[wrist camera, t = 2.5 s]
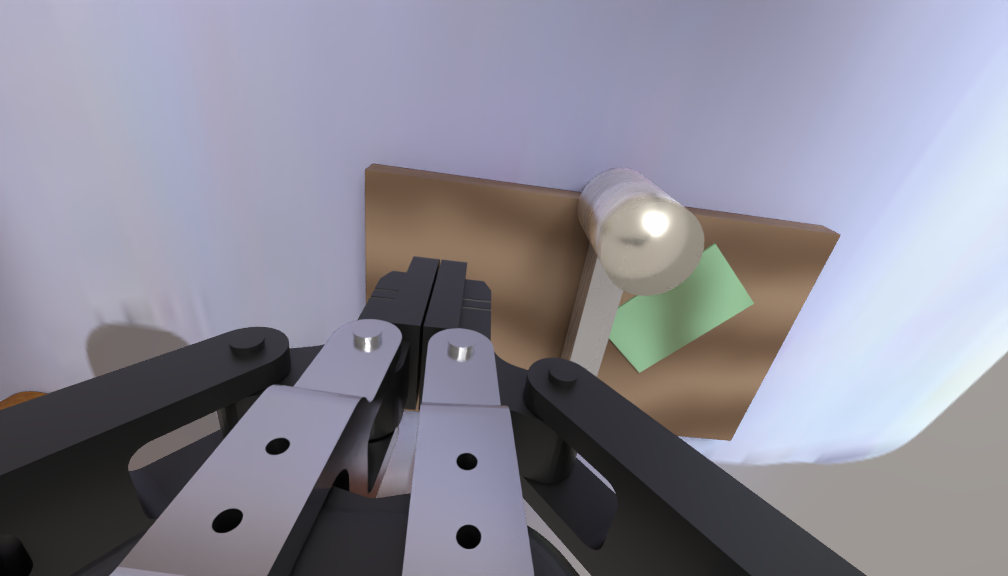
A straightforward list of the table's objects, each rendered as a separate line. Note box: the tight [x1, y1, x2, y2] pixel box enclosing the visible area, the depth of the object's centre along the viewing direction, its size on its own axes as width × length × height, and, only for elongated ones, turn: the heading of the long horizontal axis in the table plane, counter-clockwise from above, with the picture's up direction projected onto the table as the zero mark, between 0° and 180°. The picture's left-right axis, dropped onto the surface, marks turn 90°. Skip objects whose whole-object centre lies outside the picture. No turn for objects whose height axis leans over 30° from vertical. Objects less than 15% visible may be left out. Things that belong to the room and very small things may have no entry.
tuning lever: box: [561, 168, 704, 377], centre depth 22 cm, size 16×4×6 cm, turn 172°
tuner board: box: [365, 164, 840, 441], centre depth 27 cm, size 16×26×2 cm, turn 82°
